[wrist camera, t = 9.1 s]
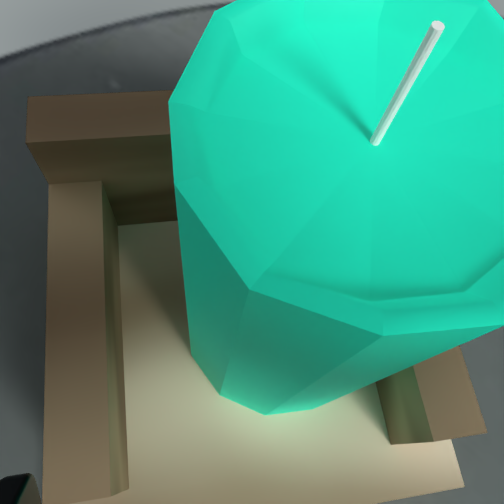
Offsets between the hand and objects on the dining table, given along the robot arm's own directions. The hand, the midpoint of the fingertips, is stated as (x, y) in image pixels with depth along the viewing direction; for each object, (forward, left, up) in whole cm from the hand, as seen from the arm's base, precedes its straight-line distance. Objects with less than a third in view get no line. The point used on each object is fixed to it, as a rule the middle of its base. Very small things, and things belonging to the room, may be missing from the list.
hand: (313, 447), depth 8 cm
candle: (+3, +3, -7) cm, 8 cm away
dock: (+2, +4, -8) cm, 9 cm away
